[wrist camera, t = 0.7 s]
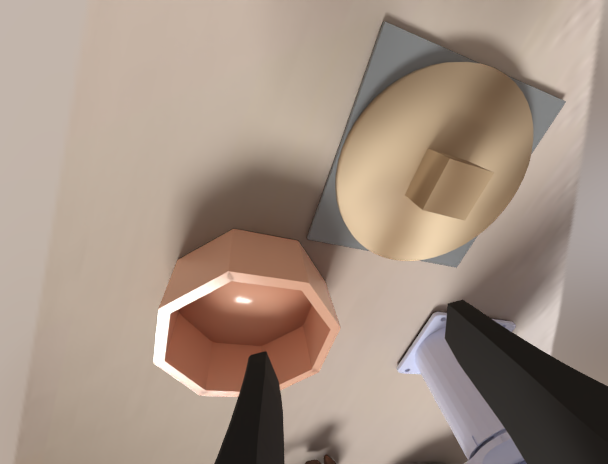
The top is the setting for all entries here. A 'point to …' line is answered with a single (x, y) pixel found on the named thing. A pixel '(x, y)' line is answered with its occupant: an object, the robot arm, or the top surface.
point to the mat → (378, 76)
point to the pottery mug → (327, 460)
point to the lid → (434, 160)
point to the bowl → (244, 313)
